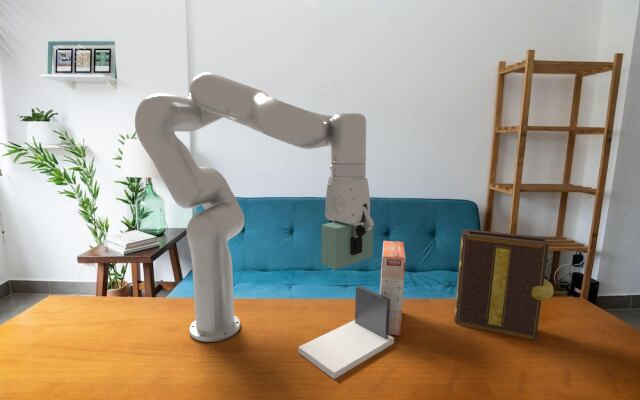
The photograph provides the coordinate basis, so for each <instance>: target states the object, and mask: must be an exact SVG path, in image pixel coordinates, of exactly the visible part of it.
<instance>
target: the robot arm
mask: <svg viewBox="0 0 640 400" xmlns="http://www.w3.org/2000/svg"><path fill="white" fill-rule="evenodd" d="M223 118H224V119H227V120H230V121H232V122H235V123H238V124H240V125H242V126H245V127H248V128H251V129H252V130H254V131H257V132H260V133H262V134H264V135H266V136H267V137H270V138H273V139H276V140H278V141H280V142H284V143H285V144H286V143H287V144H289V145H292V146H294V147H296V148H301V149H305V150H311V149H312V150H313V149H318V148H323V147H324V148H325V147H330V148H331V149H330V151H331V152H330V153H331V156H330V157H331V158H330V159H331V162H330V167H329V169H330V175H331V176H329V177H328V180H327V184H326V185H327V186H326V192H325V214H324V216H325V219H326V220H327V221H328V223H332V222H339V223H343V224H347V225H351V229H352V235H353V237H351V255H356V254H359V253H361V252H362V236H364V235H365V233H366V232H367V231H368V230H369V229H371V228H372V227H373V228H374V227H375V223H374V220H373V221H372V219H373V218H372V217H371V198H370V189H369V182H368V178H367V177H366V172H367V170H366V169H367V168H366V166H367V164H366V161H367V119H366V116H365V115H364V114H362V113H358V112H357V113H356V112H353V113H351V112H349V113H347V112H346V113H345V112H343V113H336V114H334V115H328V114H321V113H317V112H313V111H310V110H306V109H303V108H300V107H298V106H296V105H292V104H289V103H287V102H285V101H284V102H283V101H281V100H279V99H277V98H275V97H272V96H270V95H269V94H268V93H266V92H265V91H263V90H260V89H258V88H255V87H252V86H249V85H246V84H243V83H242V82H238V81H235V80H232V79H230V78H228V77H224V76H222V75H219V74H216V73H213V72H202V73H200V74H198V75H196V76H194V78H193V79H192V80H191V82H190V84H189V96H188V97H186V96H179V95H175V94H169V93H155V94H150V95H148V96H147V97H145V98H144V99H142V101H141V102H140V103H139V104H138V107H137V108H136V112H135V116H134V128H135V129H134V130H135V133H136V135H137V137H138V138H137V139H138V140H139V142H140V144H141V146H142V147H143V149H144V150H145V152H146V153H147V155H148V156H149V158H150V159H151V161H152V162H153V164H154V167H155V168H156V170H157V172H158V175H159V176H160V177H161V179H162V181H163V183H164V184H165V186H166V188H167V190H168V192H169V194H170V195H171V198H172V199H173V200H174V202H175V203H176V204H177V205H178V206H179V207H181V208H183V209H194V208H198V207H200V206H201V207H202V208H203V210H200V211H198V212H197V213H196V214H194V215H193V216H192V217H191V219H190V220H189V221H188V223H187V226H186V238H187V242H188V243H187V244H188V246H189V250H190V255H191V257H190V258H191V265H192V266H191V267H192V269H191V270H192V279H193V281H192V282H193V298H194V300H193V301H194V316H195V320H193V322H192V323H191V324H190V325H189V335H190V337H191V338H192V339H194V340H196V341H199V342H205V343H206V342H207V343H209V342H211V343H213V342H219V341H223V340H226V339H229V338H231V337H232V336H234V335H235V334H237V332H238V331H239V330H240V328H241V320H240V319H239V317H238V316H236V315H235V311H234V310H235V309H234V308H235V307H234V282H233V281H234V279H233V273H234V272H233V260H232V259H233V258H232V255H231V252H230V249H229V243H228V241H230V240H231V239H232V238H234V237H235V236H237V235H238V234H239V233H241V231H242V230H243V228H244V227H245V226H244V225H245V215H244V212H243V209H242V207H241V206H240V204H239V202H238V200H237V198H236V196H235V195H234V192H233V191H232V188H231V187H230V186H229V183H228V182H227V180H226V178H225V177H224V176H223V174H222V173H220V171H219V170H217V169H215V168H213V167H210V166H199V165H197V163H196V162H195V160H194V158H193V156H192V154H191V152H190V151H189V149H188V147H187V146H186V145H185V143H183V141H181V140H180V138H179V137H178V136H177V135H176V133H175V132H195V131H197V130H200V129H202V128H205V127H207V126H208V125H209V126H210V125H211V124H212V123H214V122H216V121H219V120H221V119H223ZM363 222H364V223H365V224H363ZM357 226H358V228H359V229H358V230H357Z"/></svg>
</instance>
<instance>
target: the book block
mask: <svg viewBox="0 0 640 400" xmlns="http://www.w3.org/2000/svg"><path fill="white" fill-rule="evenodd" d="M371 219H372V221H373V222H374V219H373V218H371ZM363 224H365V223H364V222H363ZM358 229H359V228H358V226H357V230H358ZM351 237H353V235H352V229H351V225H347V224H343V223H339V222H332V223H329V222H328V223H324V224H321V265H324V266H326V267H328V268H331V269H333V270H338V269H341V268H344V267H347V266H350V265H352V264H355V263H358V262H361V261H364V260H367V259H369V258H373V253H374V252H373V250H374V249H373V248H374V247H373V243H374V239H373V238H374V227H372V228H371V229H369V230H368V231H367V232H366V233H365V235H364V236H362V252H361V253H359V254H356V255H351Z"/></svg>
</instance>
